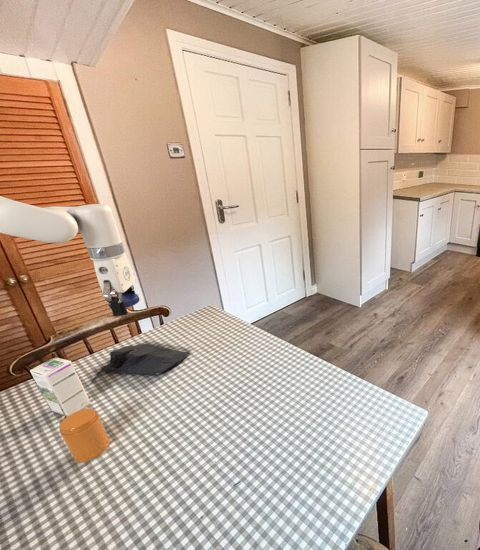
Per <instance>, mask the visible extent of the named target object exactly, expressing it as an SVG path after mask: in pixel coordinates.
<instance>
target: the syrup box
mask: <svg viewBox="0 0 480 550" xmlns="http://www.w3.org/2000/svg"><path fill="white" fill-rule="evenodd" d="M29 372H30V374H31V376H32V378H33V379H34V382H35V384H36V385H37V387H38V389H39V391H40V392H41V395H42V397H43V398H44V400H45V402H46V404H47V406H48V408H49V409H50V411H52V412H54V413H57V414H61V415H63V416H64V419H65V418H66V417H67V416H69V415H71V414H72V413H74V412H77V411H79V410H82V409H86V407H87V406H89V405H91V400H90V398H89V396H88V394H87V392H86V390H85V388H84V385H83V383H82V381H81V379H80V377H79V375H78V373H77V371H76V369H75V367H74V364H73V362H72V361H71V360H68V359H64V358H61V357H57V356H56V357H53V358H50V359H48V360H47V361H44V362H43V363H40V364H39V365H36V366H35V367H34V368H32V369H30V370H29Z"/></svg>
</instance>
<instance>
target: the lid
mask: <svg viewBox="0 0 480 550" xmlns="http://www.w3.org/2000/svg"><path fill="white" fill-rule="evenodd" d="M115 297H116V298H117V295H116V296H115ZM121 297H122V302H123V301H124V303H125V306H126V309H127V308H130V307H133V306H135V305H137V304H138V303H139V302H140V300H141V299H140V296H139V295H138V294H137V293H135V294H123V295H122V294H121ZM107 305H108V307H109V309H111V307H110V304H108V303H107Z"/></svg>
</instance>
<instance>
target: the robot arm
mask: <svg viewBox="0 0 480 550" xmlns="http://www.w3.org/2000/svg"><path fill="white" fill-rule="evenodd" d="M78 233H80V234H81V237H82V241H83V243H84V245H85V248H86V250H87V254H88V256H89V259H90V260H91V261H92V262H93V267H94V268H93V269H94V271H95V276H96V278H97V282H98V285H99V288H100V290H101V292H102V296H101V297H102V299H104V300H105V301H106V302H107V305H108V304H110V307H111V308H110V307H109V308H110V310H111V313H112V315H113V317H120V316H127V315H128V313H129V311H128V310H127V308H126V306H125V303H124V301H123V302H122V297H121V295H123V294H136V291H135V287H134V284H135V282H136V276H135V274H134V271H133V267H132V265H131V263H130V260H129V258H128V255H127V254H126V250H125V248H124V244H123V241H122V238H121V234H120V232H119V229H118V225H117V223H116V219H115V216H114V213H113V209H112V208H111V207H110V206H109V205H107V204H104V203H91V204H83V205H78V206H56V205H55V206H54V205H53V206H44V207H41V206H37V205H32V204H28V203H24V202H22V201H17V200H14V199H11V198H9V197H4V196H1V195H0V234H4V235H7V236H12V237H17V238H21V239H27V240H32V241H33V240H34V241H37V242H44V243H49V244H62V243H67V242H70V241H71V240H73V239H74V238H75V237H76V235H77V234H78ZM115 295H116V296H117V298H116V296H115Z"/></svg>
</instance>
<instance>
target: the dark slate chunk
mask: <svg viewBox="0 0 480 550" xmlns="http://www.w3.org/2000/svg"><path fill="white" fill-rule="evenodd" d="M109 354H110V359H109V364H108V365H107V366H105V367H104V368H103V369H101V371H102V372H104V373H114V374H121V375H123V374H124V375H129V374H134V375H140V376H141V375H143V376H144V375H146V376H154V375H161V374H162V373H164V372H166V371H167V370H169V369H170V368H172V367H173V366H174V365H176V364H179V363H180V362H181V361H183V360H185V359H186V358H187V357H188V356H189V355H190V352H187V351H180V350H177V349H173V348H169V347H164V346H161V345H157V344H151V343H142V344H136V345H125V346H122V347H120V348H117V349H114V350H112V351H110V353H109Z"/></svg>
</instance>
